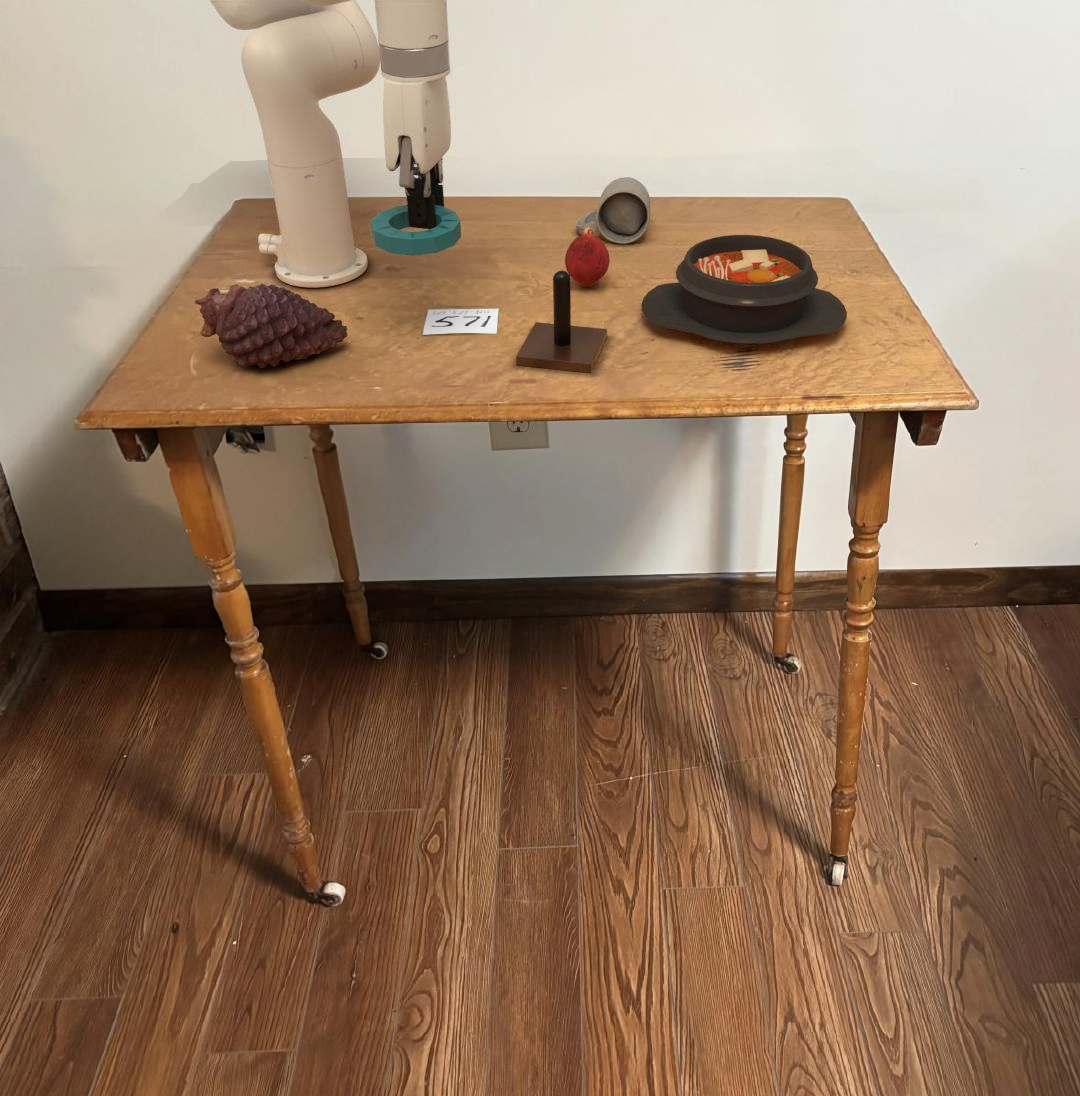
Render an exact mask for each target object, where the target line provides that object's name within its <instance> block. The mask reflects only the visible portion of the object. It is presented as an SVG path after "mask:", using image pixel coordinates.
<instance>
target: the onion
mask: <svg viewBox="0 0 1080 1096" xmlns="http://www.w3.org/2000/svg"><path fill="white" fill-rule="evenodd" d="M592 232H593V230H592V229H591V228H589V227H588V228H585V229H584V231H583V233H582V235H580V236H578V237H576V238H574V240H573V241H571V243H570V244H569V246H568V247H567V249H566V252H565V256H564V266H565V270H566V272H567V273H568V274H569V275H570V279H571V280H573V281H574V282H576V283H577V284H579V285H580V286H582V287H584V288H590V287H592V286H593V285H594V284H596V283H597V282H599V281H600V280H601V279H602V278H604V276H605V275H606V273H608V270H609V266H610V260H611V259H610V253H609V250H608V248H607V246H606V245H605V243H604V241H603V240H602V239H600V237H598V236H597V235H595V234H594V233H592Z"/></svg>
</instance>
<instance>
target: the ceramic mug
mask: <svg viewBox="0 0 1080 1096" xmlns="http://www.w3.org/2000/svg"><path fill="white" fill-rule="evenodd" d="M650 221H651V197H650V194H649V191H648V189H647V188H646V186H645V185H644V184H643V183H642V182H640V181H639V180H638V179H636V178H634V177H629V176H624V177H618V178H615V179H614V180H612V181H611V182H609V183H608V184H607V185H606V186H605V188H604V189H603V191H602V193H601V195H600V197H599V201H598V205H597V207H596V208H595V209H593V210H591V211H589V212H587V213H585V214H584V215H582V216H581V217H580V218H579V219H578V220H577V221H576V223H575V228H576V229H577V231H578V233H579V235H580V236H581V235H582V233H583V231H584V229H585V228H588V227H589V228H591V229H592V230H593V232H592V233H593V234H595V233H600V234H601V235H602V236H603V237H604V238H605V239H606V240H608V241H609V242H612V243H615V244H619V245H626V244H631V243H634V242H636V241H638V240H639V239H641V237H643V235H644V234H645V233H646V232H647V230H648V228H649V226H650Z"/></svg>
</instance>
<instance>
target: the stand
mask: <svg viewBox="0 0 1080 1096" xmlns="http://www.w3.org/2000/svg"><path fill="white" fill-rule="evenodd" d="M571 282H572V281H571V277H570V275H569V274H568V272H567V270H558V271H556V272H555V273H554V274H553V276H552V293H553V294H552V296H553V297H552V298H553V299H552V300H553V305H552V307H553V323H549V322H540V321H535V322H534V324H533V326H532V327H531V329H530V331H529V333H528V335H527V336H526V338H525V340H524V342H523V344H522V345H521V347H520V349H519V350H518V352H517V354H516V356H515V360H516V366H518V367H519V366H521V367H528V368H529V367H531V368H539V369H548V370H559V371H566V372H577V373H585V374H586V373H587V374H592V372H593V370H594V367H595V365H596V363H597V361H598V359H599V356H600V354H601V352H602V349H603V348H604V345H605V343H606V340H607V338H608V329H607V328H600V327H590V326H580V325H579V326H578V325H572V314H571V313H572V312H571V309H572V307H571V306H572V304H571V303H572V302H571V301H572V300H571V299H572V298H571V290H572V289H571V287H572V286H571Z"/></svg>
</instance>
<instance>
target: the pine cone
mask: <svg viewBox="0 0 1080 1096" xmlns="http://www.w3.org/2000/svg"><path fill="white" fill-rule="evenodd" d="M194 305H199V306H200V308H199V312H200V314H201V317H202V318H203V320H204V323H203V326H202V328H201V329H200V331H199V332H200V335H201V336H202V337H204V338H210V337H213V336H214V335H217V336H218V342H219V343H221V344H220V346H221V347H222V349H223V350H224V351H225V353H226V354H227V355H231V358H232V359H233V360H234V361H237V363H238V364H239V365H240V366H249V365H250V366H255V365H257V367H258V368H260V369H264V368H266V367H267V366H268V365H270V366H272V367H276V366H278V364H279V363H280V361H283V362H285V363H288V362H291V361H292V360H297V361H299V360H305V359H307V358H308V357H311V356H312V355H320V354H321V353H322V351H327V350H329V348H330V347H335V346H337V345H338V344H339V343H342V342H344V340H345V339H346V338H348V327H347V325H343V321H342V320H341V319H335V318H336V315H335V314H334V312H330V311H329V310H328V309H327V308H326V307H324V308H322V307H319V306H317V304H316V303H314V302H310V300H308V299H305V298H302V296H301V295H300V294H298V293H294V292H293V291H291V290H290V289H287V288H285V287H284V286H282V287H278V286H277V285H276V284H269V285H267V284H265V283H260V284H259V285H255V286H249V287H248V288H246V287H244V286H241V285H239V284H238V283H237V284H236V283H235V284H233V285H230V286H229V290H228V292H227V293H221V291H220V289H219V288H216V287H215V288H211V289H209V290H208V293H207V294H206V296H204V297H202V298H199V299H196V300H194Z"/></svg>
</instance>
